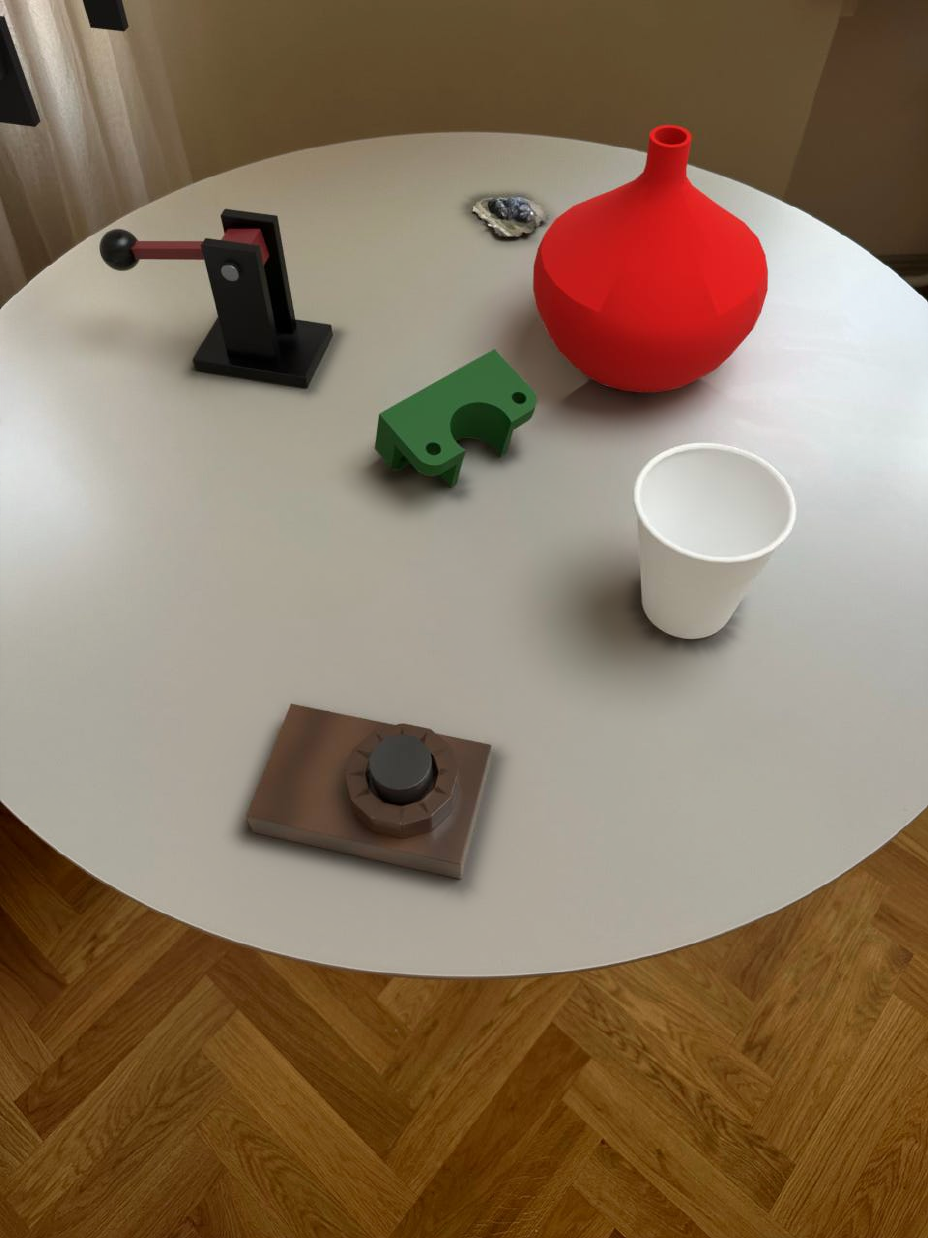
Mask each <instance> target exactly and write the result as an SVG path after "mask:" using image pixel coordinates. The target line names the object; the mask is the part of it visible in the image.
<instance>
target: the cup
mask: <svg viewBox="0 0 928 1238" xmlns="http://www.w3.org/2000/svg"><path fill="white" fill-rule="evenodd" d="M632 504H633V508H634V511H635V514H636V517H637V535H638V551H639V568H640V569H639V571H640V590H641V592H640V594H641V606H642V608H643V611H644V613H645V615H646V617H647V618H648V620H649V621H650V623H652V624H653V625H654V626H655V627H656V628H658V629H659V630H660V631H662V632H664V633H666V635H667V634H668V635H670V636H673V637H675V638H681V639H687V640H695V639H696V640H697V639H704V638H707V637H710V636H713V635H714V634H716V633H718V632H719V631H720V630H722V629H723V628H724V627H725V626H726V625H727V623H728V621H729V620H730V619H731V617H732V616H733V614H734V613H735V612H736V610H737V608H738V607H739V605H740V603H741V601H742V600H743V599H744V597H745V595H746V594H747V593H748V592H749V590H750V589H751V587H752V585H753V584H754V582H755V581H756V579H757V577H758V576H759V575H760V573H761V572H762V570H763V568H764V567H765V566H766V564H767V563H768V562H769V560H770V558H771V557H772V556H773V554H774V553H775V551H776V549H778V548H779V547H780V546H781V545H783V544H784V542H785V541H786V540H787V539H788V537H789V536H790V535H791V533H792V531H793V528H794V526H795V523H796V519H797V503H796V497H795V495H794V493H793V491H792V488H791V486H790V484H789V483H788V481H787V480H786V478H785V477H784V476H783V475H782V474H781V472H779V471H778V470H777V469H776V468H775V467H774V465H772V464H771V463H769V462H768V461H766V459H764V458H762V457H760V456H759V455H757V454H754V453H752V452H750V451H748V450H745V449H742V448H740V447H737V446H734V445H729V444H724V443H717V442H694V443H693V442H692V443H685V444H682V445H677V446H674V447H671V448H669V449H666V450H664V451H662V452H660V453H658V454H657V455H655V456H654V457H653V458H651V459H650V460H649V461H647V463H646V464H644V466H643V467H642V468H641V469H640V471H639V473H638V475H637V477H636V478H635V480H634V485H633V489H632Z"/></svg>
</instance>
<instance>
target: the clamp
mask: <svg viewBox="0 0 928 1238" xmlns="http://www.w3.org/2000/svg"><path fill="white" fill-rule="evenodd" d="M537 404H538V396H537V394H536V392H535V390H534V389H533V388H532V387H531V386H530V385H529V384H528V383H527V382H526V381H525V379H524V378H522V376H520V374H519V373H518V372H517V371H516V370H515V369H514V368H513V367H512V366H511V365H510V363H508V361H506V359H505V358H504V357H503V356H502V355H501V354H500V353H499V352H498V351H497V350H496V349H495V348H493V349H492V350H490V351H488V352H486V353H484V354H482V355H481V356H479V357H477V358H475V359H473V360H472V361H470V362H468V363H466V364H464V365H463V366H462V367H459V368H458V369H456V370H454V371H452V372H451V373H449V374H447V375H445V376H443V377H442V378H440V379H438V380H436V381H435V382H433V383H431V384H429V385H427V386H426V387H424V388H422V389H420V390H418V391H417V392H415V393H413V394H412V395H410V396H408V397H406V398H404V399H403V400H401V401H399V402H398V403H395V404H394V405H392V406H391V407H388V408H387V409H385V410H383V411H382V412H379V414H378V417H377V428H376V434H375V442H374V449H375V451H376V452H377V453H378V455H379V456H380V457H381V458H382V460H384V462H385V463H386V464H387V465H388V467H390V469H391V470H393V471H399V470H402V469H404V468H405V467H407V466H409V465H412V466H413V467H414V469H415V470H416V471H417V472H419V474H422V475H424V476H427V477H436V476H440V477H441V478H442V479H443V480H444V481H445V482H446V484H447V485H448V486H449V488H453V487H454V486H456V485H458V481H459V477H460V473H461V469H462V465H463V461H464V457H465V455H466V449H465V448H463V447H462V446H461V445H460V444H458V442H457V441H458V440H462V439H477V440H480V441H483V442H485V443H487V444H489V445H490V446H491V447H492V448H493V449H494V450H495V451H496V453H498V455H499V457H500V458H502V457H503V456H505V455H507V451H508V449H509V445H510V442H511V440H512V439H511V438H512V436H513V433H514V430H516V429H518V428H519V427H521V426H522V425H524V424H526V423H528V422H529V421H530V420H531V419H532V417H533V416H534V413H535V409H536V407H537Z"/></svg>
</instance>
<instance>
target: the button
mask: <svg viewBox="0 0 928 1238" xmlns="http://www.w3.org/2000/svg"><path fill="white" fill-rule="evenodd" d="M369 768H370V774H371V780H372V784H373V787H374V789H375V790H376V792H377V793H378V794H379V795H380V796H381V797H383V798H384V799H386V800H388V801H391V802H395V803H407V802H411V801H414V800H416V799H418V798H419V797H421V796H422V795H423V794H424V793H425V792H426V791H427V790H428V789H429V787H430V785H431V782H432V778H433V770H432V757H431V753H430V751H429V749H428V747H427V746H426V745H425V744H424V743H423V742H422V741H421V740H419V739H418V738H416V737H413V736H410V735H404V734H400V735H393V736H390V737H387V738H385V739H384V740H382V741H381V742H379V743H378V744H377V745H376V746H375V748H374V749H373V751H372V753H371V755H370V759H369Z"/></svg>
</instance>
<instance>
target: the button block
mask: <svg viewBox="0 0 928 1238" xmlns="http://www.w3.org/2000/svg"><path fill="white" fill-rule="evenodd" d="M400 734H404V735H410V736H413V737H416V738H418V739H419V740H421V741H422V742H423V743H424V744H425V745H426V746H427V747H428V749H429V751H430V753H431V757H432V770H433V778H432V782H431V785H430V787H429V789H428V790H427V791H426V792H425V793H424V794H423V795H422V796H421V797H419V798H418V799H416V800H414V801H411V802H407V803H395V802H391V801H388V800H386V799H384V798H383V797H381V796H380V795H379V794H378V793H377V792H376V790H375V789H374V787H373V784H372V780H371V774H370V768H369V759H370V755H371V753H372V751H373V749H374V748H375V746H376V745H377V744H378V743H379V742H381V741H382V740H384V739H385V738H387V737H390V736H393V735H400ZM491 764H492V744H489V743H486V742H485V743H484V742H479V741H476V740H470V739H466V738H461V737H455V736H451V735H446V734H441V733H436V732H435V731H434V730H432V729H431V728H428V727H423V726H418V725H414V724H408V723H401V722H400V723H398V724H393V723H387V722H382V721H378V720H373V719H368V718H364V717H358V716H354V715H348V714H344V713H339V712H334V711H330V710H329V711H328V710H324V709H320V708H315V707H309V706H305V705H299V704H295V703H290V705H289V707H288V710H287V712H286V715H285V717H284V720H283V723H282V725H281V728H280V731H279V732H278V735H277V738H276V740H275V743H274V745H273V748H272V750H271V753H270V755H269V758H268V761H267V763H266V766H265V768H264V769H263V774H262V776H261V778H260V780H259V783H258V785H257V788H256V791H255V793H254V795H253V799H252V800H251V803H250V806H249V809H248V811H247V814H246V819H247V821H248V824H249V827H250V829H251V832H252V833H255V834H259V835H265V836H268V837H272V838H273V837H274V838H277V839H281V840H286V841H291V842H295V843H298V844H303V845H308V846H312V847H316V848H321V849H325V850H330V851H335V852H339V853H343V854H346V855H347V854H348V855H352V856H356V857H360V858H366V859H370V860H375V861H379V862H383V863H387V864H392V865H396V866H401V867H404V868H405V867H406V868H410V869H414V870H419V871H421V872H427V873H431V874H436V875H440V876H445V877H449V878H454V879H458V880H462V878H463V875H464V870H465V866H466V862H467V859H468V856H469V855H468V854H469V851H470V846H471V843H472V839H473V835H474V832H475V827H476V823H477V820H478V815H479V812H480V807H481V804H482V801H483V795H484V792H485V788H486V785H487V780H488V777H489V773H490V768H491Z"/></svg>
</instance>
